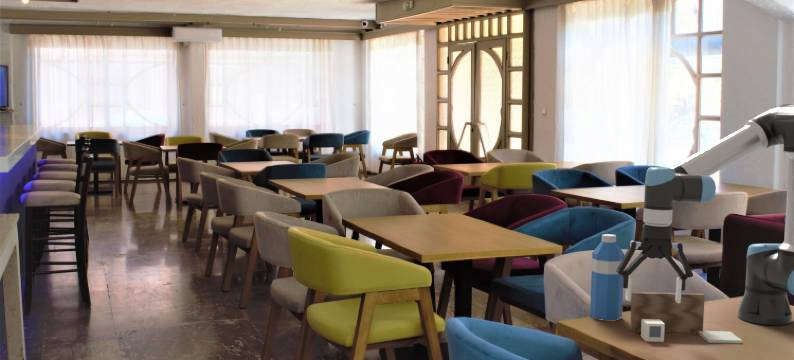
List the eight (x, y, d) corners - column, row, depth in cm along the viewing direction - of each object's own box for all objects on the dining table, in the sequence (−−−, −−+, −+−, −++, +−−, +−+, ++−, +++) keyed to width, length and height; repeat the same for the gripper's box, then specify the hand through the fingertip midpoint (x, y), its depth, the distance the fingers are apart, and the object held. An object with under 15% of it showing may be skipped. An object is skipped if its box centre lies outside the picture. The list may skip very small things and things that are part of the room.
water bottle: (622, 322, 258) (626, 238, 256) (590, 319, 260) (593, 236, 258) (621, 314, 267) (624, 233, 265) (589, 312, 269) (592, 232, 267)
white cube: (658, 336, 243) (659, 319, 243) (664, 342, 238) (664, 324, 237) (640, 336, 243) (641, 318, 243) (645, 341, 238) (646, 323, 238)
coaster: (730, 334, 246) (730, 331, 246) (741, 343, 237) (742, 340, 237) (698, 333, 247) (698, 330, 247) (708, 342, 238) (708, 339, 238)
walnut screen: (699, 330, 250) (701, 292, 249) (704, 334, 246) (706, 295, 245) (629, 328, 251) (630, 291, 250) (632, 332, 247) (634, 294, 246)
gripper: (699, 223, 241) (694, 299, 243) (608, 220, 242) (604, 296, 244) (708, 227, 233) (703, 306, 235) (614, 224, 234) (609, 302, 236)
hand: (652, 301), depth 240 cm, fingers open, 13 cm apart
